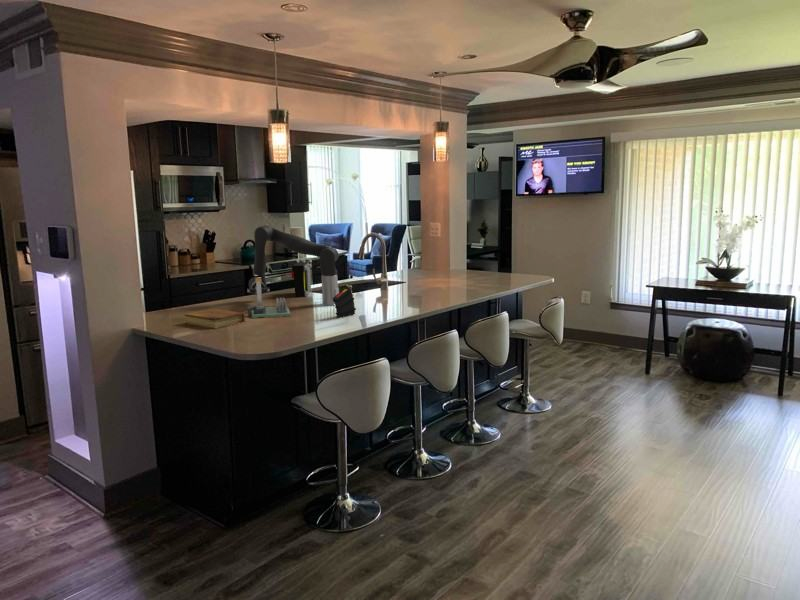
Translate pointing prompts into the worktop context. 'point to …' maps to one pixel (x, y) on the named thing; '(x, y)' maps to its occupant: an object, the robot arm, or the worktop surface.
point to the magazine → (344, 303)
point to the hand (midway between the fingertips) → (258, 292)
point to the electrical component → (301, 278)
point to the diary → (214, 318)
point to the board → (271, 313)
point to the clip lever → (259, 294)
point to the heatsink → (280, 309)
